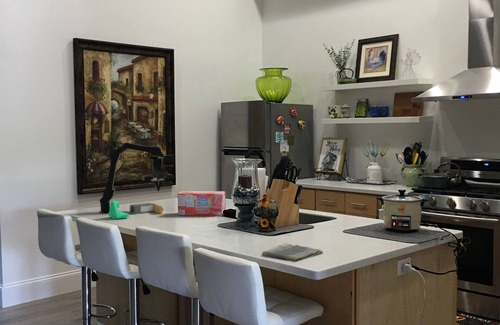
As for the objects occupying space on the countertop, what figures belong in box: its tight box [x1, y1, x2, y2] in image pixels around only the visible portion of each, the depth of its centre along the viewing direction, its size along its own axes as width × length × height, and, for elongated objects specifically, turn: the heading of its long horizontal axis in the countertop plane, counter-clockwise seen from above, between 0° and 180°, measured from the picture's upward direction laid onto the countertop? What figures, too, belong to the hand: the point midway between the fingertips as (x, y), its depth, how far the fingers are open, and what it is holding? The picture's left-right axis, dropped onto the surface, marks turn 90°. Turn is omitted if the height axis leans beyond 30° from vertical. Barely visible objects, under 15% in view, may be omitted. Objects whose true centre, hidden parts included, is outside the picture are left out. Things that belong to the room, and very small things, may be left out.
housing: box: [129, 202, 155, 215], centre depth 347 cm, size 7×14×5 cm, turn 125°
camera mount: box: [108, 200, 130, 220], centre depth 329 cm, size 12×8×10 cm, turn 36°
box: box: [177, 190, 227, 217], centre depth 335 cm, size 27×13×14 cm, turn 81°
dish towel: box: [261, 242, 324, 263], centre depth 228 cm, size 19×18×3 cm
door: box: [153, 203, 164, 215], centre depth 344 cm, size 2×11×5 cm, turn 31°
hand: (158, 191), depth 354 cm, fingers closed
